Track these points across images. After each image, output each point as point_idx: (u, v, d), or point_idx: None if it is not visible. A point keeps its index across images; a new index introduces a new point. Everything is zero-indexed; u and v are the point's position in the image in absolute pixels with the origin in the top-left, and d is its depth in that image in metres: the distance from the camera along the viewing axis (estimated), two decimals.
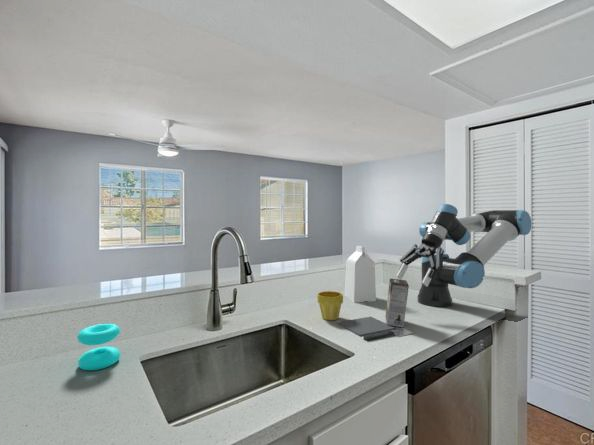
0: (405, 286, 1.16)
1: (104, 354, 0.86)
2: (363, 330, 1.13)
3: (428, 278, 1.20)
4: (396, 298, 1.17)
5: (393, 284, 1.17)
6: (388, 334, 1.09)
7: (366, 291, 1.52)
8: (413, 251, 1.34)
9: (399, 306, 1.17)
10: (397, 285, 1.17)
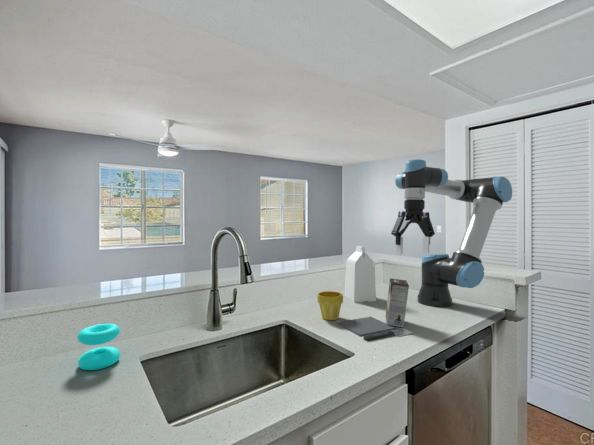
0: (405, 286, 1.16)
1: (104, 354, 0.86)
2: (363, 330, 1.13)
3: None
4: (396, 298, 1.17)
5: (393, 284, 1.17)
6: (388, 334, 1.09)
7: (366, 291, 1.52)
8: None
9: (399, 306, 1.17)
10: (397, 285, 1.17)
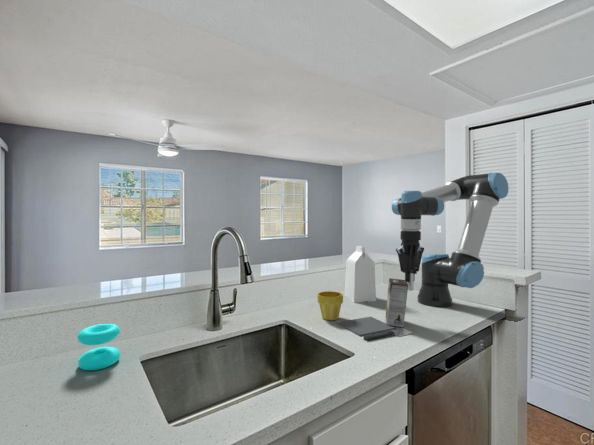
0: (404, 286, 1.16)
1: (104, 354, 0.86)
2: (363, 330, 1.13)
3: None
4: (396, 298, 1.17)
5: (392, 284, 1.17)
6: (388, 334, 1.09)
7: (366, 291, 1.52)
8: None
9: (398, 306, 1.17)
10: (396, 285, 1.17)
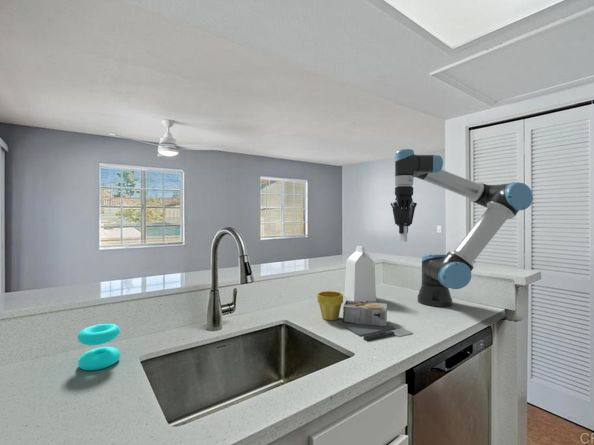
0: (344, 309, 1.21)
1: (104, 354, 0.86)
2: (363, 330, 1.13)
3: None
4: (357, 317, 1.19)
5: (344, 320, 1.21)
6: (388, 334, 1.09)
7: (366, 291, 1.52)
8: None
9: (365, 315, 1.18)
10: (344, 317, 1.21)
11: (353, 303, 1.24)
